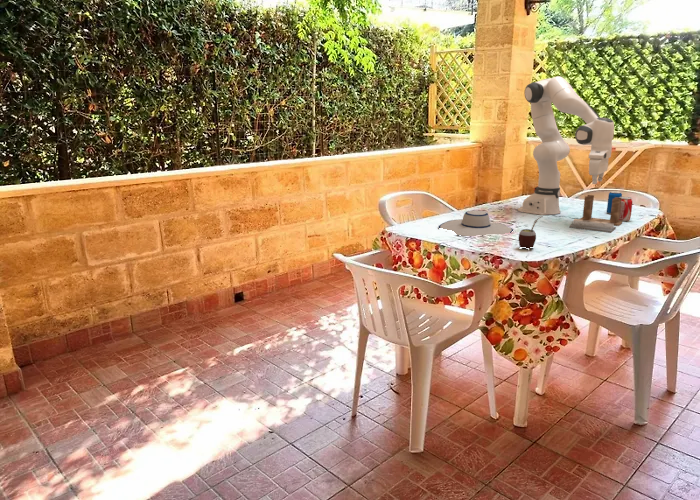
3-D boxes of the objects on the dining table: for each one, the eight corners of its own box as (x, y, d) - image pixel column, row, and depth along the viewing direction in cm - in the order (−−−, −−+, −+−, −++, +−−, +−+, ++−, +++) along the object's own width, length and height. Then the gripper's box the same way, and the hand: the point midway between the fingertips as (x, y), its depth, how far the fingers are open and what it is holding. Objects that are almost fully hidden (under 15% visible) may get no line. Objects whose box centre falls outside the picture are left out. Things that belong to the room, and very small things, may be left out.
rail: (572, 224, 257) (573, 219, 257) (574, 223, 260) (574, 218, 259) (612, 229, 247) (612, 224, 246) (613, 228, 249) (614, 223, 248)
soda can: (632, 222, 263) (635, 199, 260) (617, 221, 264) (619, 198, 261) (627, 219, 270) (630, 196, 266) (613, 218, 271) (615, 196, 268)
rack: (578, 221, 267) (581, 196, 264) (582, 218, 273) (585, 194, 270) (618, 226, 256) (621, 200, 252) (622, 223, 262) (625, 197, 258)
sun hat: (423, 229, 262) (423, 211, 260) (472, 219, 282) (473, 202, 279) (478, 243, 233) (479, 223, 231) (529, 231, 253) (530, 212, 251)
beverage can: (606, 214, 281) (609, 192, 278) (606, 212, 287) (608, 190, 284) (620, 215, 279) (622, 193, 276) (619, 212, 285) (621, 191, 281)
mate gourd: (515, 246, 225) (517, 212, 220) (533, 246, 225) (535, 212, 221) (521, 251, 217) (524, 216, 213) (540, 250, 218) (543, 216, 214)
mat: (569, 227, 255) (569, 225, 255) (575, 223, 263) (575, 222, 263) (610, 232, 244) (611, 231, 244) (615, 228, 251) (616, 226, 251)
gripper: (599, 151, 253) (595, 179, 257) (587, 155, 238) (584, 184, 242) (613, 151, 249) (609, 180, 253) (602, 155, 234) (598, 186, 238)
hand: (597, 182), depth 247 cm, fingers open, 8 cm apart
